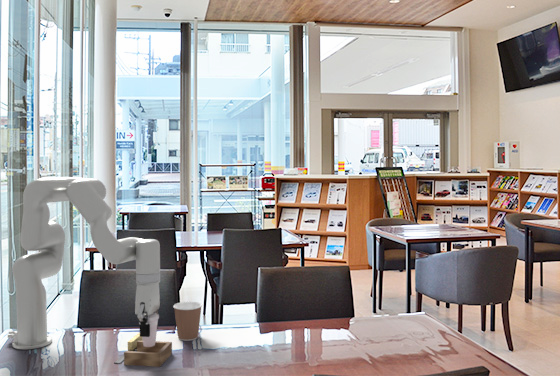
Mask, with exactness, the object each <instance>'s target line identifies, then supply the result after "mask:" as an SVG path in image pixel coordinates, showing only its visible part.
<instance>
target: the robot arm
mask: <svg viewBox="0 0 560 376" xmlns="http://www.w3.org/2000/svg"><path fill="white" fill-rule="evenodd" d="M106 196H107V189H106V186H105V184H104V183H103V182H102V181H101V180H99V179H96V178H86V177H85V178H84V177H72V176H61V177H60V176H59V177H56V176H55V177H53V176H52V177H42V178H36V179H34V180H32V181H30V182H28V183H27V185H26V186H25V188H24V191H23V196H22V203H23V205H22V207H23V212H22V220H21V229H20V246H21V248H22V249H24V250H25V251H27V252H34V253H29V254H25V255H22V256H20V257H18V258H17V259H16V260H15V261H14V262H13V264H12V268H11V269H12V277H13V281H14V284H15V295H16V296H15V297H16V298H15V299H16V330H9V331H8V334H7V338H8V339H14V340H13V342H12V344H11V345H12V348H13V349H16V350H24V351H25V350H35V349H41V348H43V347H46V346H49V345H50V344H51V343H52V341H53V338H52V337H51V336H49V335H48V323H47V322H48V319H47V318H48V315H47V307H48V306H47V291H46V288H45V286H44V284H43V282H42V280H43V279H47V278H51V277H53V276H55V275H57V274H59V272H60V270H61V269H62V266H63V260H64V251H65V241H66V233H65V230H64V228H63V226H62V224H60V223H58V221H57V222H56V221H50V216H51V212H50V211H51V210H50V208H49V205H48V203H59V202H61V203H62V202H70V203H71V204H72V206H74V208H75V209H76V210H77V211H78V212H79V214H80V215H81V216H82V217H83V218H84V220H85V221H86V223H88V225H89V229H90V230H89V233H90V236H91V241H92V243H93V246H94V247H95V248H96V250H97V251H98V252H99V253H100V255H102V257H103V258H104V259H105V260H106V261H108V263H110V264H113V265H120V264H124V263H127V262H131V261H135V274H136V275H135V278H136V279H135V280H136V282H135V284H136V290H135V302H134V303H135V304H134V306H135V308H134V312H135V313H134V314H135V315H136V316H137V319H138V325H139V333H140V337H149V336H150V324H149V317H150V315H151V314H152V313H157V314H159V313H158V312H159V308H160V303H161V296H160V283H161V247H160V246H161V245H160V241H159V240H158V239H154V238H145V239H144V238H139V237H137V236H136V237H135V236H131V237H125V238H120V239H117V238H116V236H114V234H113V233H112V232H111V230H110V229H109V227H108V221H109V219H110V218H111V217H112V215H113V209H112V208H111V207H110V206H109V204H108V203H107V202H106V201H105V200H104V199H105V198H106ZM36 251H38V252H36ZM145 313H147V314H145ZM144 317H146V319H145V318H144ZM157 330H159V323H158V324H157Z"/></svg>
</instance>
